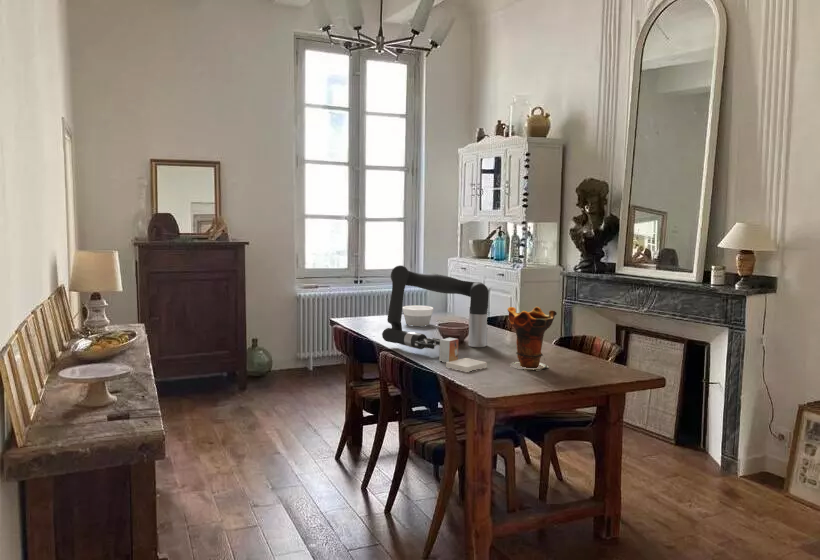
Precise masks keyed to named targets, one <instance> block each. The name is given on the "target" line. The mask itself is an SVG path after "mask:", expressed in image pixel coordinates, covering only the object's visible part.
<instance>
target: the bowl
mask: <svg viewBox="0 0 820 560" xmlns="http://www.w3.org/2000/svg"><path fill="white" fill-rule="evenodd" d="M433 312H434V307H433V306H430V305H421V304H420V305H416V304H415V305H412V304H411V305H403V308H402V314H403V315H404V319H405V321H404V322H405V324H408V325H413V326H424V327H426V326H425V325H429V326H430V322H431V320H432V315H433ZM408 325H407V326H408ZM413 326H412V327H413Z"/></svg>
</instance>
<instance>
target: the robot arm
mask: <svg viewBox="0 0 820 560" xmlns="http://www.w3.org/2000/svg"><path fill="white" fill-rule="evenodd" d="M390 280H391V281H392V286H391V287H392V289H391V295H390V296H391V297H390V300H389V305H388V310H387V312H388V313H387V323H388V324H390V325H391V327H386V328H385V329H384V330H383V331H382V333H381V336H382V337H381V338H383V340H384V341H385V342H388V343H394V344H399V345H402V346H405V347H409V348H413V349H417V350H424V349H429V350H430V349H432V350H434V349H435V347H436V346H438V347H440V340H442V338H441V339H440V338H436V337H432V338H430V337H427V335H425V334H424V333H420V332H413V331H406V330H403V327H402V316H403V307H404V305H403V304H404V295H405V291H406V290H405V289H406V286H409V287H415V288H416V287H417V288H419V289H423V290H426V291H431V292H435V293H440V294H447V295H449V294H450V295H451V294H452V295H453V294H456V295H462V296H466V297H469V298H470V302H469V303H470V305H469V317H468V321H469V322H468V346H469V347H472V348H485V347H486V346H488V334H489V333H488V321H487V320H488V309H489V293H490V292H489V287H488V286H487V285H485V284H484V283H483V282H479V281H478V282H477V281H468V280H461V279H459V278H455V277H451V276H448V275H444V274H438V273H424V272H423V273H421V272H419V273H418V272H413V271H410V270H409V269H408V268H407V267H406V266H404V265H396V266H395V267H393V269H391V273H390Z"/></svg>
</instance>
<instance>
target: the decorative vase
mask: <svg viewBox="0 0 820 560" xmlns="http://www.w3.org/2000/svg"><path fill="white" fill-rule="evenodd" d="M507 312H508V319H509V323H510V324H511V326H512V327H513V329H514V330H515V332H516V333H515V336H516V341H515V342H516V356H517V359H518V361H514V362H515V363H514V362H512V363H513V364H516V363H520V366H522V367H526V368H537V367H538V366H539V365H541V366H543V367H542V368H540V369H534V370H536V371H541V370H544V369H548V368H549V366H548V365H547V364H545V363H546V362H545V361H546V360H545V358H543V360H544V362H545V363H542V362H541V358H542V357H544V355H543V353H542V349H543V348H542V347H543V342H544V336H545V332H546V331H547V330H548V329H549V328H550V327H551V326H552V325H553V321H554V319H555V316H556V315H557V313H558V312H557V311H556V310H553V309H552V310H549V311H548V314H545V313H544V311H543V310H542V309H541V307H539V306H535V307H533V309H531V311H526V310H522V311H521V312H517V308H516V307H514V306H509V307H508V308H507ZM513 364H512V365H513ZM546 365H547V366H546ZM517 368H518V367H517ZM527 370H533V369H524V370H523V371H527Z"/></svg>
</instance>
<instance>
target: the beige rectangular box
mask: <svg viewBox="0 0 820 560" xmlns="http://www.w3.org/2000/svg"><path fill="white" fill-rule="evenodd" d="M445 365H446V366H445V368H446V367H450V368H453V369H458V370H462V371H466V372H468V371H472V370H476V369H480V370H483V369H482V368H484V369H486V367H487V365H488V363H487V361H484V360H483V361H482V360H477V359H473V358H469V357H465V358H464V357H463V358H460V359H459V358H458V360H455V361H450V362H446V364H445ZM487 368H488V367H487ZM453 369H452V370H453ZM476 371H477V370H476ZM466 372H465V373H466ZM472 372H473V371H472ZM468 373H469V372H468Z"/></svg>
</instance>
